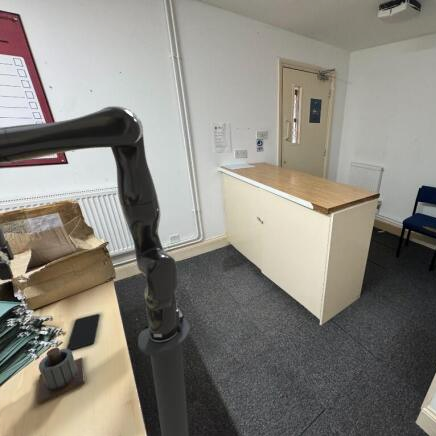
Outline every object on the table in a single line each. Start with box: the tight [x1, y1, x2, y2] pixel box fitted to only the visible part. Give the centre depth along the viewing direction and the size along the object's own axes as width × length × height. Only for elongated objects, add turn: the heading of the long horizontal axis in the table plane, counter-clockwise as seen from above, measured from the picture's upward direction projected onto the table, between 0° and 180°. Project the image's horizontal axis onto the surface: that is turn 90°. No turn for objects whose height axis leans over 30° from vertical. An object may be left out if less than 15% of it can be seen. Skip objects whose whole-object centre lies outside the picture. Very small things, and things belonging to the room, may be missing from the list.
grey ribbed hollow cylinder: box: [38, 348, 77, 389], centre depth 64 cm, size 6×6×7 cm
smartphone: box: [66, 313, 101, 352], centre depth 81 cm, size 7×1×15 cm
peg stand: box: [37, 347, 85, 405], centre depth 64 cm, size 9×9×11 cm
